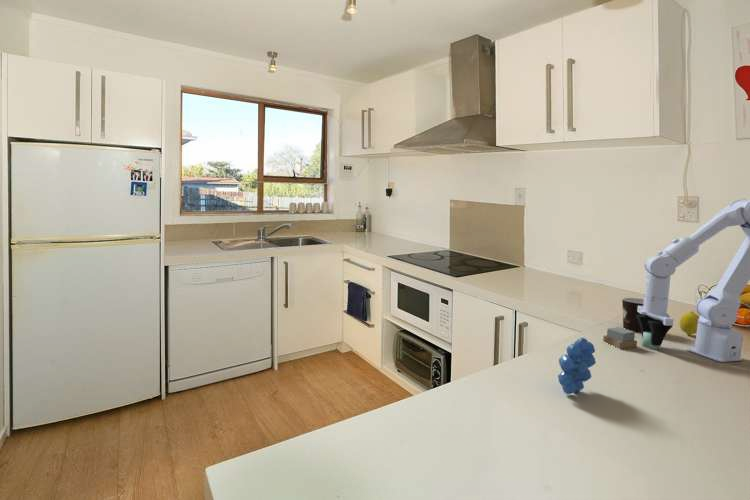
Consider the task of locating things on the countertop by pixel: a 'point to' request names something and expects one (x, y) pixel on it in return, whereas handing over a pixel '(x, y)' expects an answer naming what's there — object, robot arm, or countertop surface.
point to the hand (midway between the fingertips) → (651, 342)
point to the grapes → (576, 366)
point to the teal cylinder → (648, 341)
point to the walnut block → (620, 343)
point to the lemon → (689, 323)
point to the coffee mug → (631, 313)
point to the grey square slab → (620, 334)
